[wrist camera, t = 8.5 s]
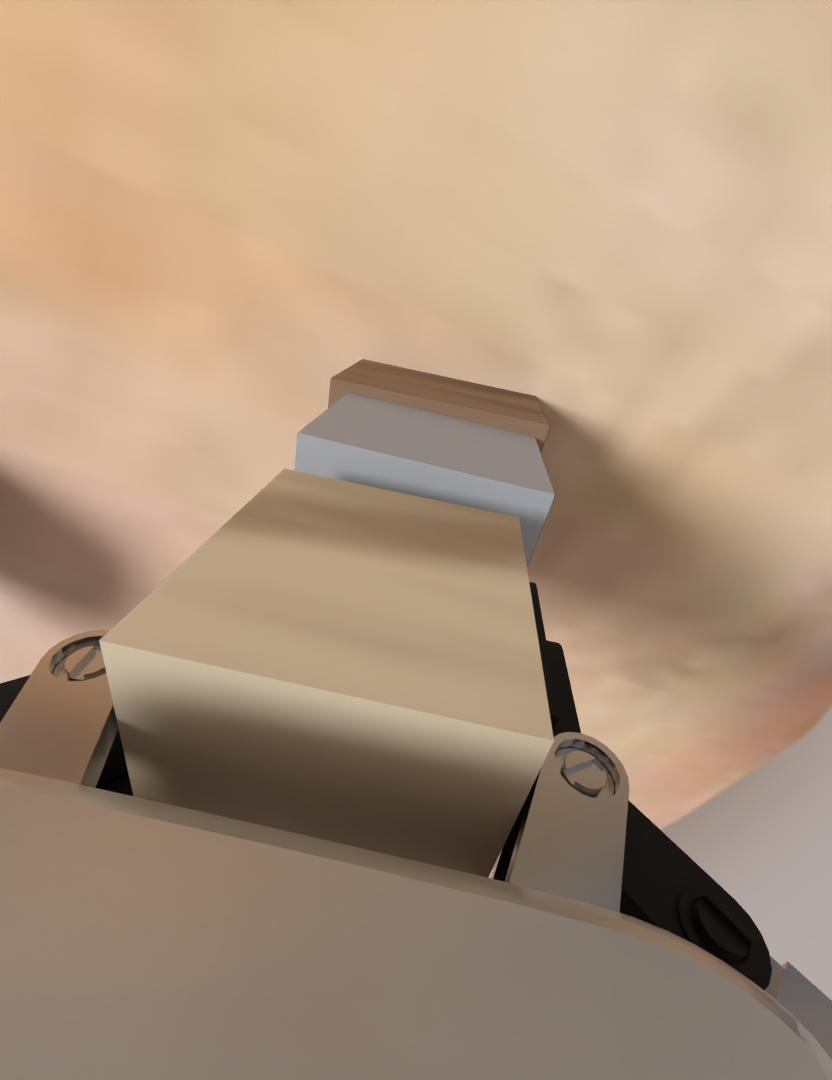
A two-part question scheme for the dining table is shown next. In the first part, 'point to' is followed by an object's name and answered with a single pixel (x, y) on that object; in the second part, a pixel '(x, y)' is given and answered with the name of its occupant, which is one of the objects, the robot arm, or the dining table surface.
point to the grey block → (429, 459)
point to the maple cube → (342, 673)
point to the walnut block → (443, 397)
